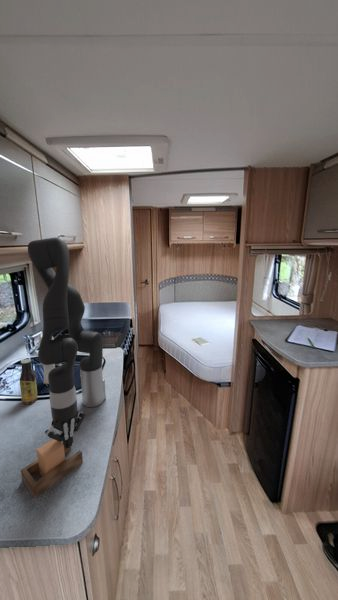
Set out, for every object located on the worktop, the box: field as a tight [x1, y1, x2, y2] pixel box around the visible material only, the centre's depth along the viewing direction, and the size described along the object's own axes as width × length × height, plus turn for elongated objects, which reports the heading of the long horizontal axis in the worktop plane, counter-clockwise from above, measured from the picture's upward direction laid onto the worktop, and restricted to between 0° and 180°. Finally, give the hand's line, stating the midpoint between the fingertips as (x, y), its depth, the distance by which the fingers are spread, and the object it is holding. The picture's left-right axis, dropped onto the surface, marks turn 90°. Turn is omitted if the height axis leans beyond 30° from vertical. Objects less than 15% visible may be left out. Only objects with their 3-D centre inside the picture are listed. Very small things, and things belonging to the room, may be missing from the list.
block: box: [36, 438, 66, 477], centre depth 76 cm, size 6×5×9 cm
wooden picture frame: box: [20, 442, 84, 499], centre depth 77 cm, size 15×8×4 cm, turn 142°
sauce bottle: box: [19, 358, 38, 405], centre depth 109 cm, size 6×6×20 cm
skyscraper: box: [38, 332, 63, 385], centre depth 123 cm, size 8×8×28 cm
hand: (68, 445), depth 80 cm, fingers closed
